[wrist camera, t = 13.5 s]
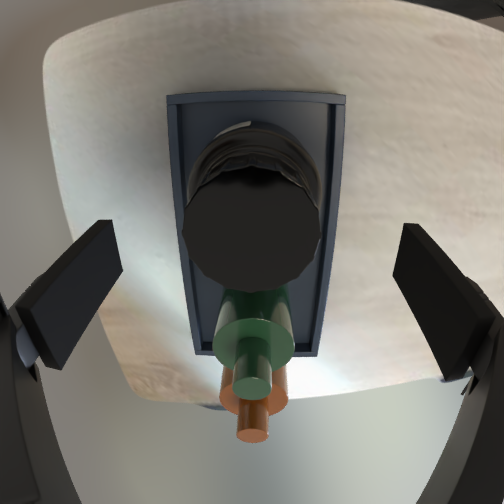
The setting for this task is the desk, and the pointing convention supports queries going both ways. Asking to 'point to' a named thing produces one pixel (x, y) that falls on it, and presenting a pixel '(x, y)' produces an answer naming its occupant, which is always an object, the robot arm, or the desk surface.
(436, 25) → the desk surface
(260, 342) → the green bottle
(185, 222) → the ink bottle
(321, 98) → the tray
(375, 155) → the desk surface
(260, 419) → the amber bottle
